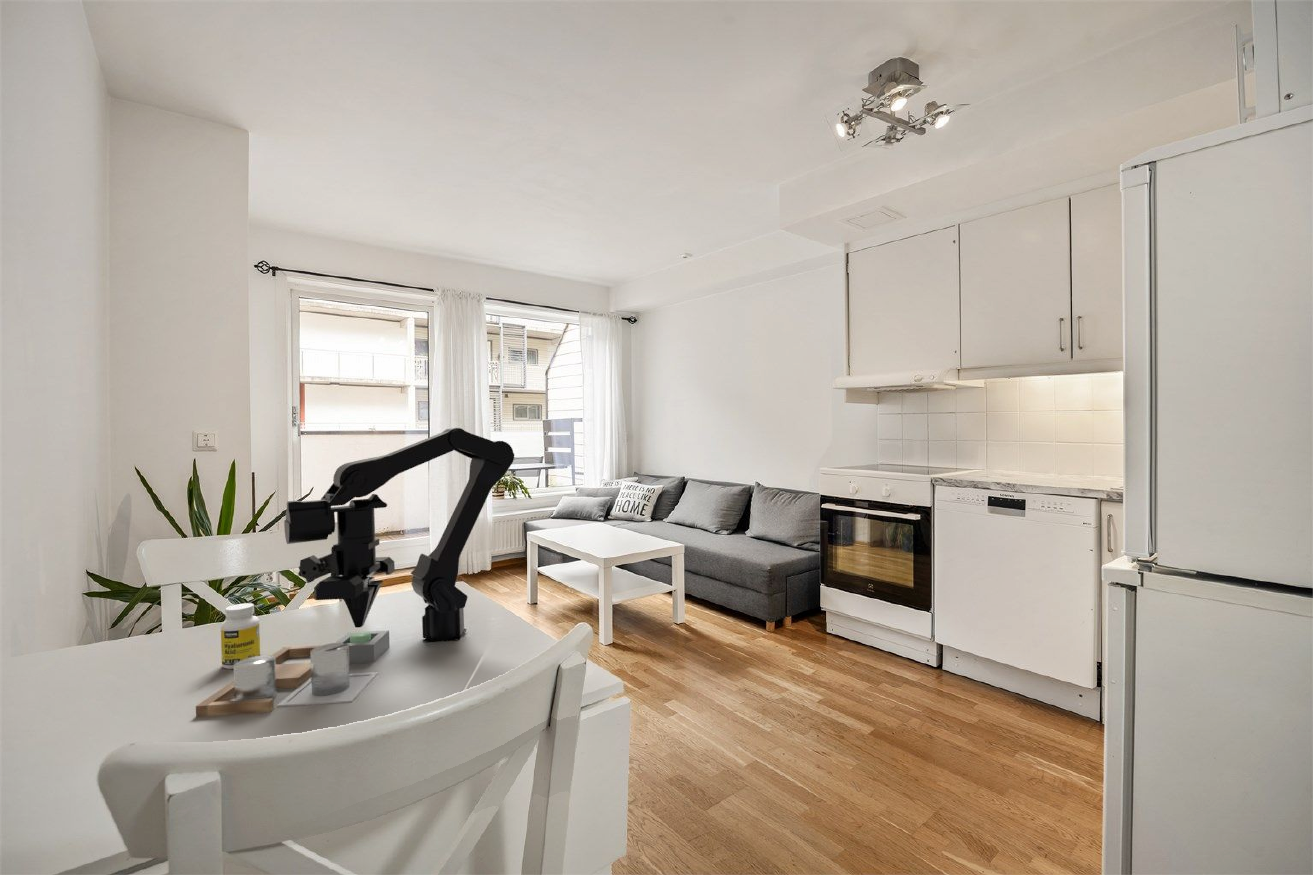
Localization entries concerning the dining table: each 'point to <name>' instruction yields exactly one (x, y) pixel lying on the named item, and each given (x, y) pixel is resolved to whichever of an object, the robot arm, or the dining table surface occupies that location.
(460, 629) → the robot arm
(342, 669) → the loose steel billet
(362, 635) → the button
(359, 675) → the tray
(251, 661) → the seated steel billet
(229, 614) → the supplement bottle
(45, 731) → the dining table surface
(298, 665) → the frame
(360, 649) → the button housing
